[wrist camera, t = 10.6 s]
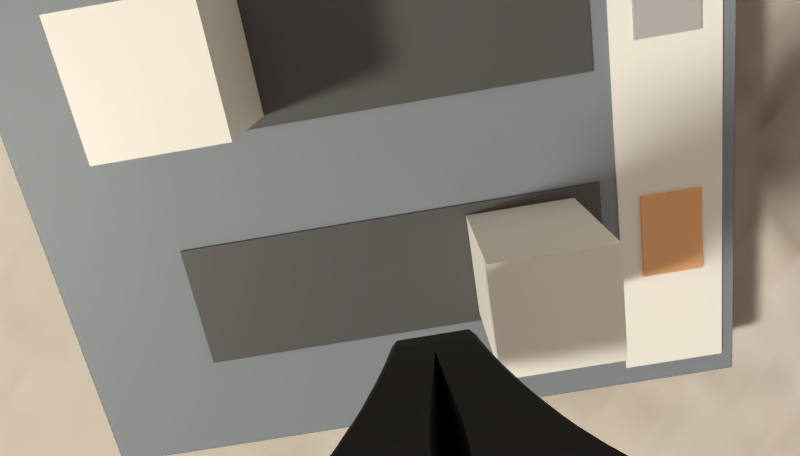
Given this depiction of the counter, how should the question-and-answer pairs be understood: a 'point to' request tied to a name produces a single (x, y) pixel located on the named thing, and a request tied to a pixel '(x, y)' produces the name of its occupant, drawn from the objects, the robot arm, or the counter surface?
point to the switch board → (380, 201)
